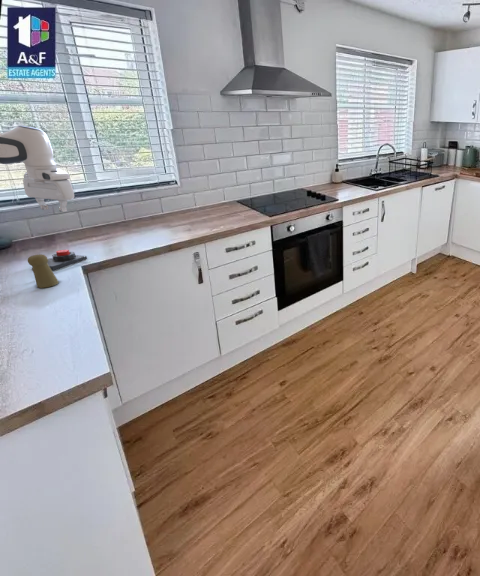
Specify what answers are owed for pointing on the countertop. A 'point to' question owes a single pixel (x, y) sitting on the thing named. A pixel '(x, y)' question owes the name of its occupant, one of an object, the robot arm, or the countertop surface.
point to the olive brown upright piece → (42, 271)
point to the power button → (62, 252)
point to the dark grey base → (64, 260)
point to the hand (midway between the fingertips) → (54, 210)
